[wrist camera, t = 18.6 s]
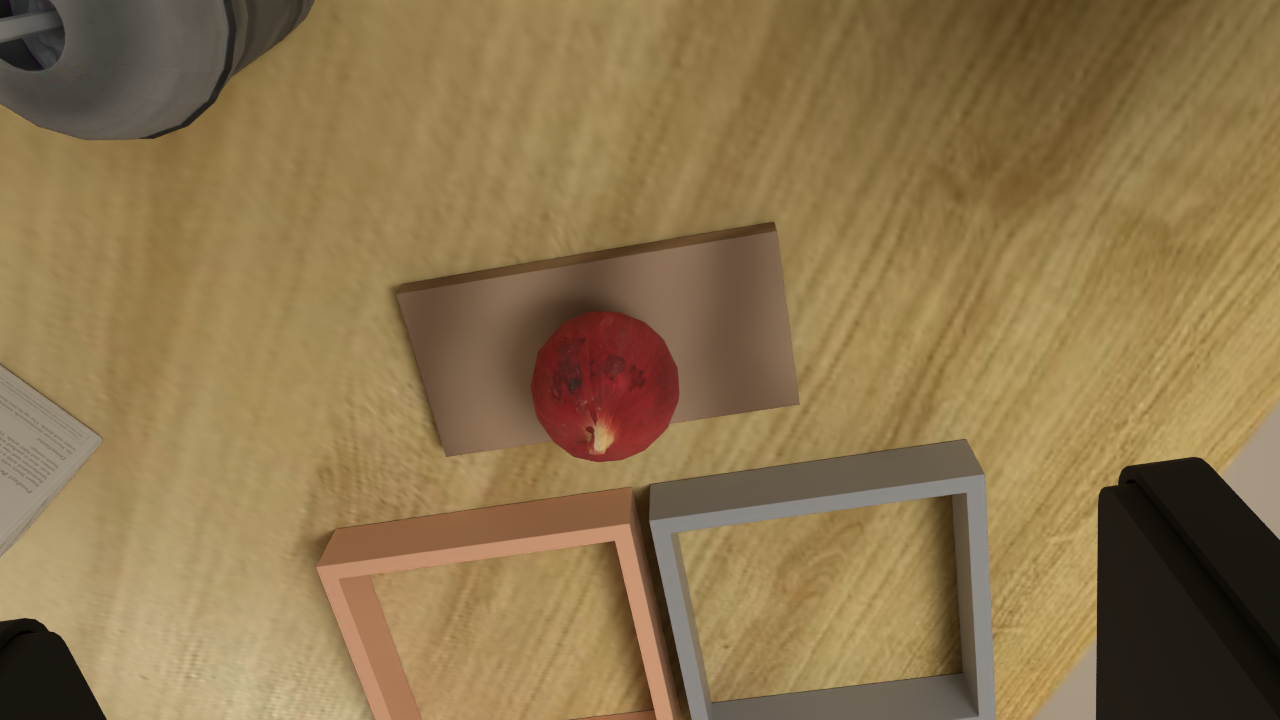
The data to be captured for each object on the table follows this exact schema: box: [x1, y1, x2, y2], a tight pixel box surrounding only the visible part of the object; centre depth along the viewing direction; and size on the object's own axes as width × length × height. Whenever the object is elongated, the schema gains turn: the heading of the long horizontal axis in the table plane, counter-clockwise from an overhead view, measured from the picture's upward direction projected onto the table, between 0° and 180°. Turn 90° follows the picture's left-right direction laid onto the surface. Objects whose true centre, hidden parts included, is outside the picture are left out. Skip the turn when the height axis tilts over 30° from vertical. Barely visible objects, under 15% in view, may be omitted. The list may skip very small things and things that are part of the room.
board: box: [396, 222, 800, 457], centre depth 44 cm, size 16×8×1 cm, turn 100°
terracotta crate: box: [316, 487, 682, 720], centre depth 50 cm, size 15×15×3 cm
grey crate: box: [649, 439, 996, 720], centre depth 48 cm, size 15×15×3 cm
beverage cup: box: [0, 0, 314, 140], centre depth 29 cm, size 7×7×20 cm
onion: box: [531, 311, 680, 462], centre depth 39 cm, size 6×6×8 cm
